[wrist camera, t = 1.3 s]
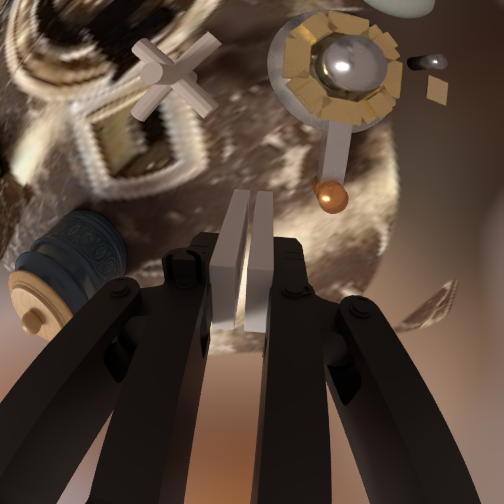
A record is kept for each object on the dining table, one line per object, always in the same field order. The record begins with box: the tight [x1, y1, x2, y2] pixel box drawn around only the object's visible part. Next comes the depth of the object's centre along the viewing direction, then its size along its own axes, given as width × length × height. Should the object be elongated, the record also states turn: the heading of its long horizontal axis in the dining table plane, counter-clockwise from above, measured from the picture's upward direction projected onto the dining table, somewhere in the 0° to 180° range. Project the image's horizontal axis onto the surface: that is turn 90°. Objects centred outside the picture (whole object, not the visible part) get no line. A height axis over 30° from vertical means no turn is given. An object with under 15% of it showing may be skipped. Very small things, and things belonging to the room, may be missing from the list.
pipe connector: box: [131, 32, 222, 121], centre depth 20 cm, size 10×10×10 cm
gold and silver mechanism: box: [267, 10, 448, 133], centre depth 19 cm, size 14×21×8 cm, turn 87°
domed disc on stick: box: [282, 11, 403, 214], centre depth 22 cm, size 20×11×4 cm, turn 177°
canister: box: [9, 210, 127, 341], centre depth 29 cm, size 13×13×18 cm
